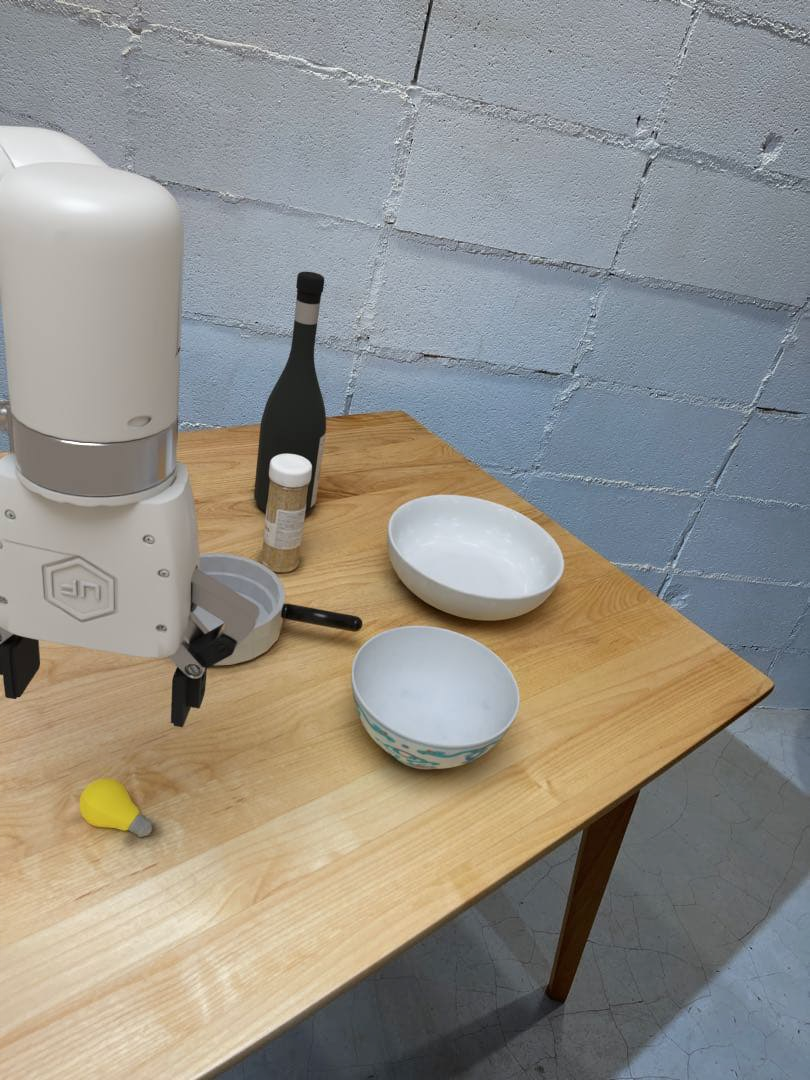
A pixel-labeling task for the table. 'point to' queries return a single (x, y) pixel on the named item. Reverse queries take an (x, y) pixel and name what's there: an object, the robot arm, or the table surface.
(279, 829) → the table surface
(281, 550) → the spice jar
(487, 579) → the serving bowl
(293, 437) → the wine bottle
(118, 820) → the light bulb
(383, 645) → the chinaware
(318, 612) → the pan handle
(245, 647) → the pan
